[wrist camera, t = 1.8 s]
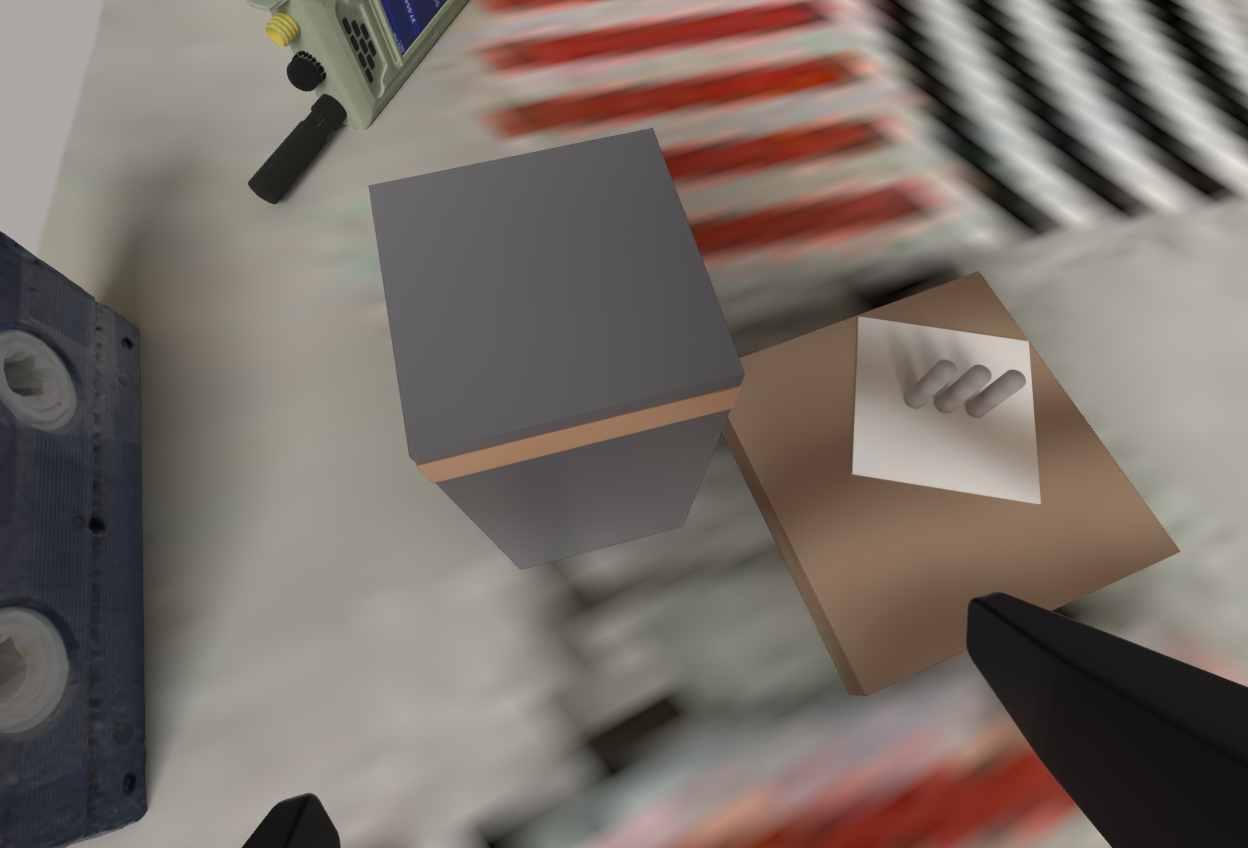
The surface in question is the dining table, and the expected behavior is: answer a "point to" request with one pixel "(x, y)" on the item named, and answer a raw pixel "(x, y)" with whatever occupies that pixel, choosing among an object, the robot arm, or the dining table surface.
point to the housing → (556, 343)
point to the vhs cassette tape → (68, 561)
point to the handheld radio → (344, 67)
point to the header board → (929, 478)
